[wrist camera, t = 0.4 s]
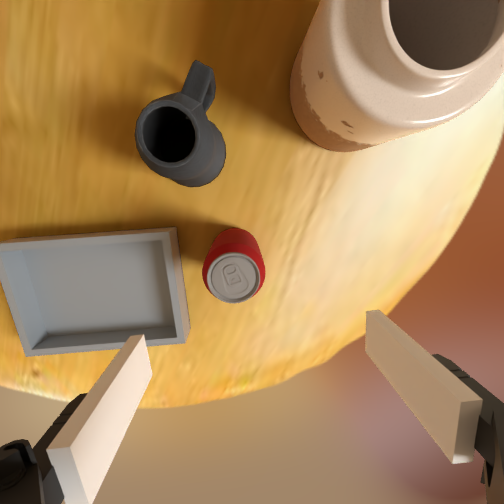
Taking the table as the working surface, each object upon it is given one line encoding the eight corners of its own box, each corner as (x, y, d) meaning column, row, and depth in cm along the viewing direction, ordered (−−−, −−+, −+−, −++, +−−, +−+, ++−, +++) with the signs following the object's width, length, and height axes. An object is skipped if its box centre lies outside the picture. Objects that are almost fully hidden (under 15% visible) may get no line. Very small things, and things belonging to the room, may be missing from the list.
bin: (16, 238, 35) (-12, 244, 31) (176, 226, 36) (168, 231, 32) (47, 339, 39) (25, 356, 35) (190, 327, 40) (185, 343, 36)
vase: (396, 154, 35) (532, 126, 19) (285, 151, 34) (327, 119, 18) (416, 20, 31) (609, -161, 15) (292, 14, 30) (352, -185, 14)
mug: (210, 198, 35) (197, 203, 24) (146, 169, 34) (102, 161, 23) (246, 111, 33) (249, 73, 22) (178, 76, 31) (146, 17, 20)
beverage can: (222, 278, 38) (214, 318, 26) (204, 236, 36) (188, 260, 25) (264, 262, 38) (276, 296, 26) (249, 220, 36) (253, 236, 24)
